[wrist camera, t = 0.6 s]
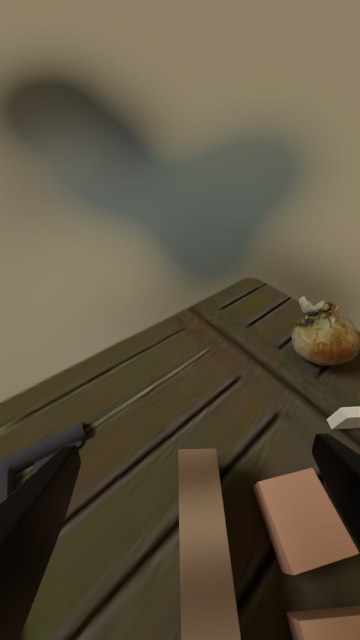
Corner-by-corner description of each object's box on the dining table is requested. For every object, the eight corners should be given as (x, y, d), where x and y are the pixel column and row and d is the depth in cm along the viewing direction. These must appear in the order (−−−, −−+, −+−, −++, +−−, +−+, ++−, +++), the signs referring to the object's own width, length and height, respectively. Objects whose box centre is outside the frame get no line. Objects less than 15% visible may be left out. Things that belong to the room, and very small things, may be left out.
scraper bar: (253, 869, 9) (296, 1061, 6) (184, 873, 9) (188, 1070, 6) (209, 464, 20) (215, 448, 17) (178, 465, 20) (178, 449, 17)
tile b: (340, 552, 16) (359, 553, 14) (280, 571, 15) (293, 575, 14) (301, 474, 20) (312, 467, 18) (251, 487, 19) (258, 481, 17)
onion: (283, 368, 28) (308, 325, 22) (283, 327, 33) (303, 285, 28) (348, 386, 26) (393, 343, 20) (337, 340, 31) (370, 297, 26)
